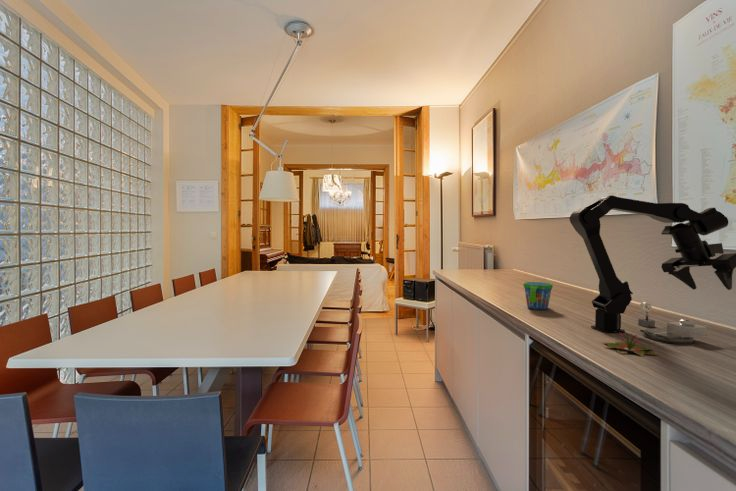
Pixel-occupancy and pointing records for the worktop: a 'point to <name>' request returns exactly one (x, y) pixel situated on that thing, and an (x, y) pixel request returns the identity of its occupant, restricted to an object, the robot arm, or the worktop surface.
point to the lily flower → (630, 346)
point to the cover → (687, 328)
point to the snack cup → (537, 294)
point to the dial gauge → (646, 315)
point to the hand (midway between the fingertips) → (711, 289)
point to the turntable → (666, 336)
